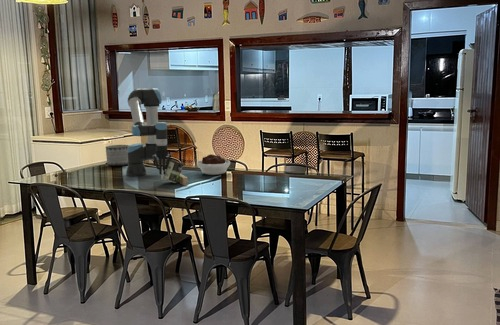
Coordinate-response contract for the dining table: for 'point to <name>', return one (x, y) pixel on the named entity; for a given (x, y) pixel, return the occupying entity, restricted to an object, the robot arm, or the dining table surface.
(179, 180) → the board
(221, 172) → the bowl of brown food
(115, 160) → the planter
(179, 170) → the coffee can
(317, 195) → the dining table surface
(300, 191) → the dining table surface
